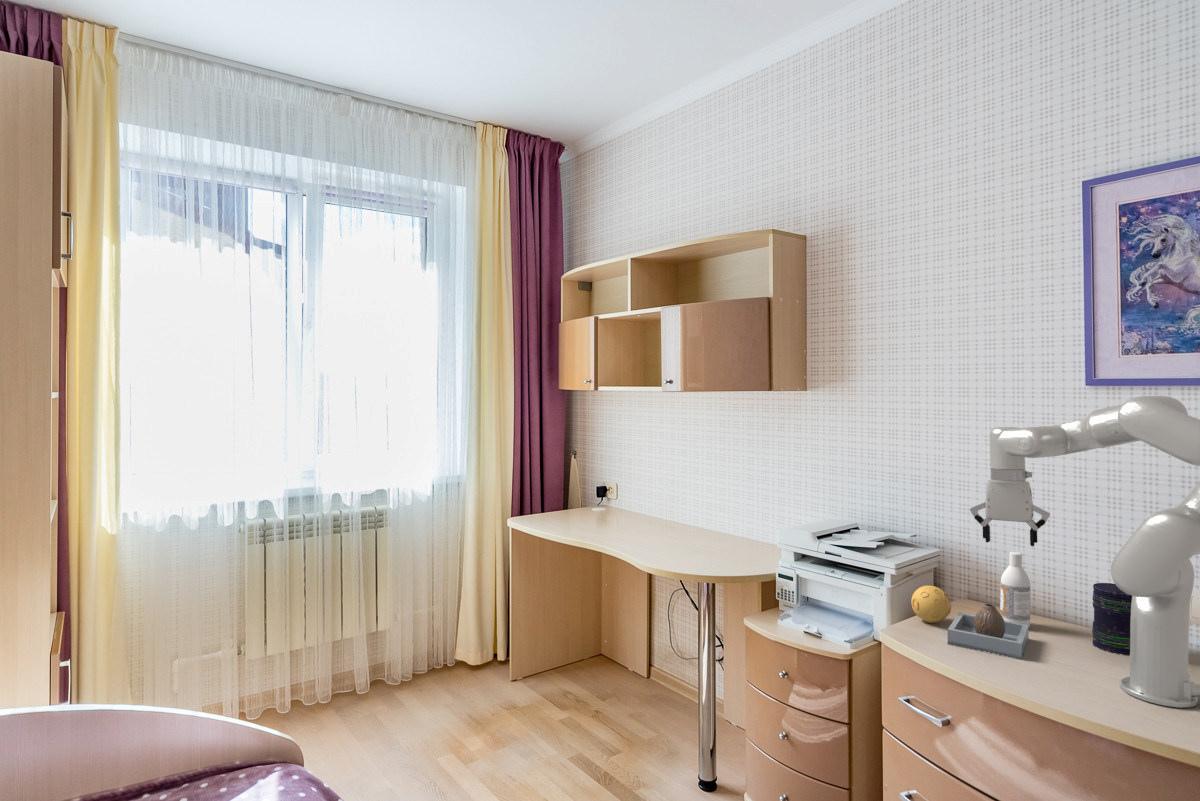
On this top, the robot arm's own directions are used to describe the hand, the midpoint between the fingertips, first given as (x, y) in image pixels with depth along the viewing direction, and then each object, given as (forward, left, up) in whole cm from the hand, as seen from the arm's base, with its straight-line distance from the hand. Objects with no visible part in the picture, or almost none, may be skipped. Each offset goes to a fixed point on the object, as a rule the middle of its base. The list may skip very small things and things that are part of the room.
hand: (1009, 543), depth 170 cm
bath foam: (0, -17, -26) cm, 31 cm away
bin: (+4, +1, -26) cm, 26 cm away
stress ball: (+19, -6, -26) cm, 33 cm away
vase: (+4, +1, -25) cm, 26 cm away
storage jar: (-22, -14, -26) cm, 36 cm away
